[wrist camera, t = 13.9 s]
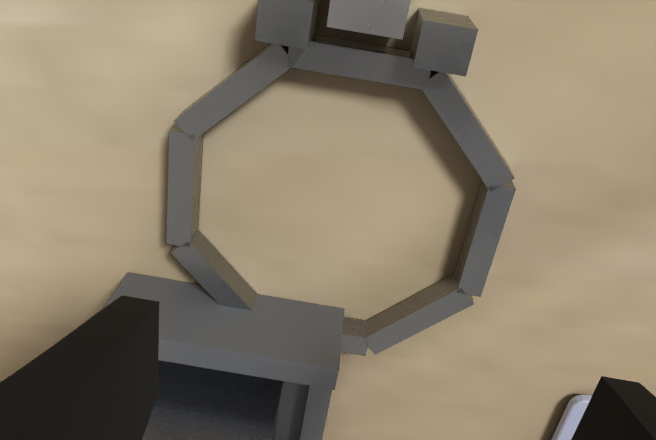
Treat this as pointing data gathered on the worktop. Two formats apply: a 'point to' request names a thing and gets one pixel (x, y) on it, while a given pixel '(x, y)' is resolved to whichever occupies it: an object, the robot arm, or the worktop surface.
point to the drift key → (370, 16)
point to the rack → (251, 344)
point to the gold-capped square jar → (212, 405)
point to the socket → (367, 64)
